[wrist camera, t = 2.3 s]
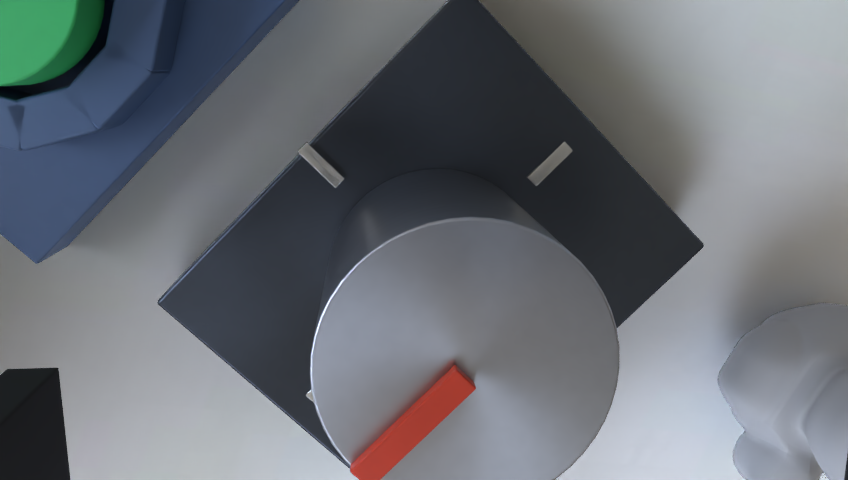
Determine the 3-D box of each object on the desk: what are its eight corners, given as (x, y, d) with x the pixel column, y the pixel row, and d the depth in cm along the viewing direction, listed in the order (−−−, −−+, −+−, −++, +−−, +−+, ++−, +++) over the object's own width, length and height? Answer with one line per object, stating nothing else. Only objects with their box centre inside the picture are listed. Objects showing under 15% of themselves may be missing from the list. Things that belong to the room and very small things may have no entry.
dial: (436, 122, 21) (472, 151, 13) (584, 272, 22) (688, 371, 15) (283, 277, 21) (240, 382, 14) (434, 414, 22) (465, 575, 15)
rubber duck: (888, 326, 26) (1114, 439, 18) (782, 487, 27) (952, 660, 19) (756, 256, 25) (933, 343, 17) (652, 426, 26) (775, 581, 18)
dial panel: (451, -10, 22) (462, -19, 20) (674, 230, 24) (711, 249, 22) (174, 277, 24) (150, 302, 21) (408, 481, 26) (413, 527, 23)
